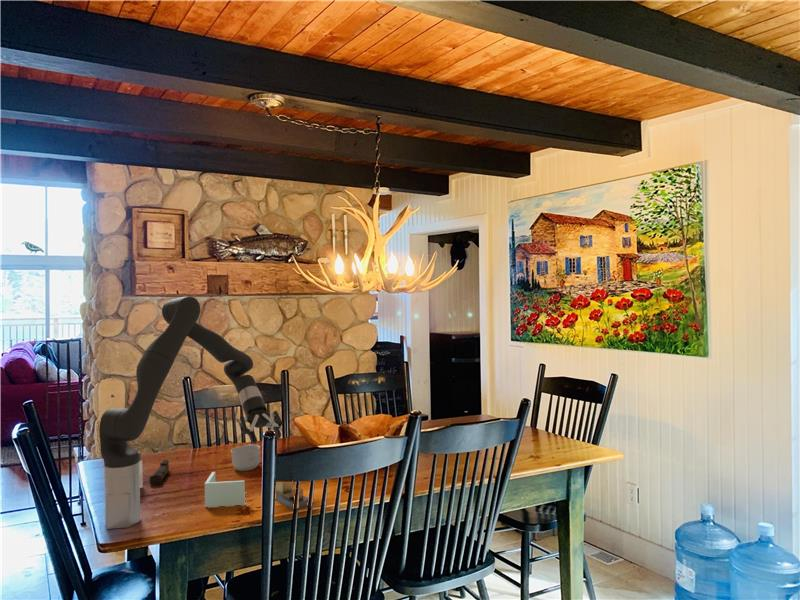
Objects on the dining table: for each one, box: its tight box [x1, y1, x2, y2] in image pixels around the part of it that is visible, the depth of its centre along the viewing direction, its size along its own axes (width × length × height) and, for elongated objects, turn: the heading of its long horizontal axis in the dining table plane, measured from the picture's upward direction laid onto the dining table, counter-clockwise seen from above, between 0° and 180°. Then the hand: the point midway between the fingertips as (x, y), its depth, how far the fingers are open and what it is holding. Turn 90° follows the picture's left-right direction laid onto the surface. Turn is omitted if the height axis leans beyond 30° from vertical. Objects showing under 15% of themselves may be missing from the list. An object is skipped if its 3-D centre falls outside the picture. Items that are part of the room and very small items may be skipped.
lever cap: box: [275, 481, 294, 495], centre depth 186 cm, size 5×4×9 cm
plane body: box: [275, 488, 308, 511], centre depth 183 cm, size 14×6×5 cm, turn 39°
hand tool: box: [149, 459, 170, 486], centre depth 211 cm, size 19×4×5 cm, turn 8°
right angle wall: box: [204, 471, 246, 508], centre depth 186 cm, size 12×12×8 cm
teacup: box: [230, 443, 261, 472], centre depth 221 cm, size 14×11×8 cm
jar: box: [137, 450, 143, 489], centre depth 199 cm, size 9×8×12 cm
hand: (267, 440), depth 195 cm, fingers open, 8 cm apart
